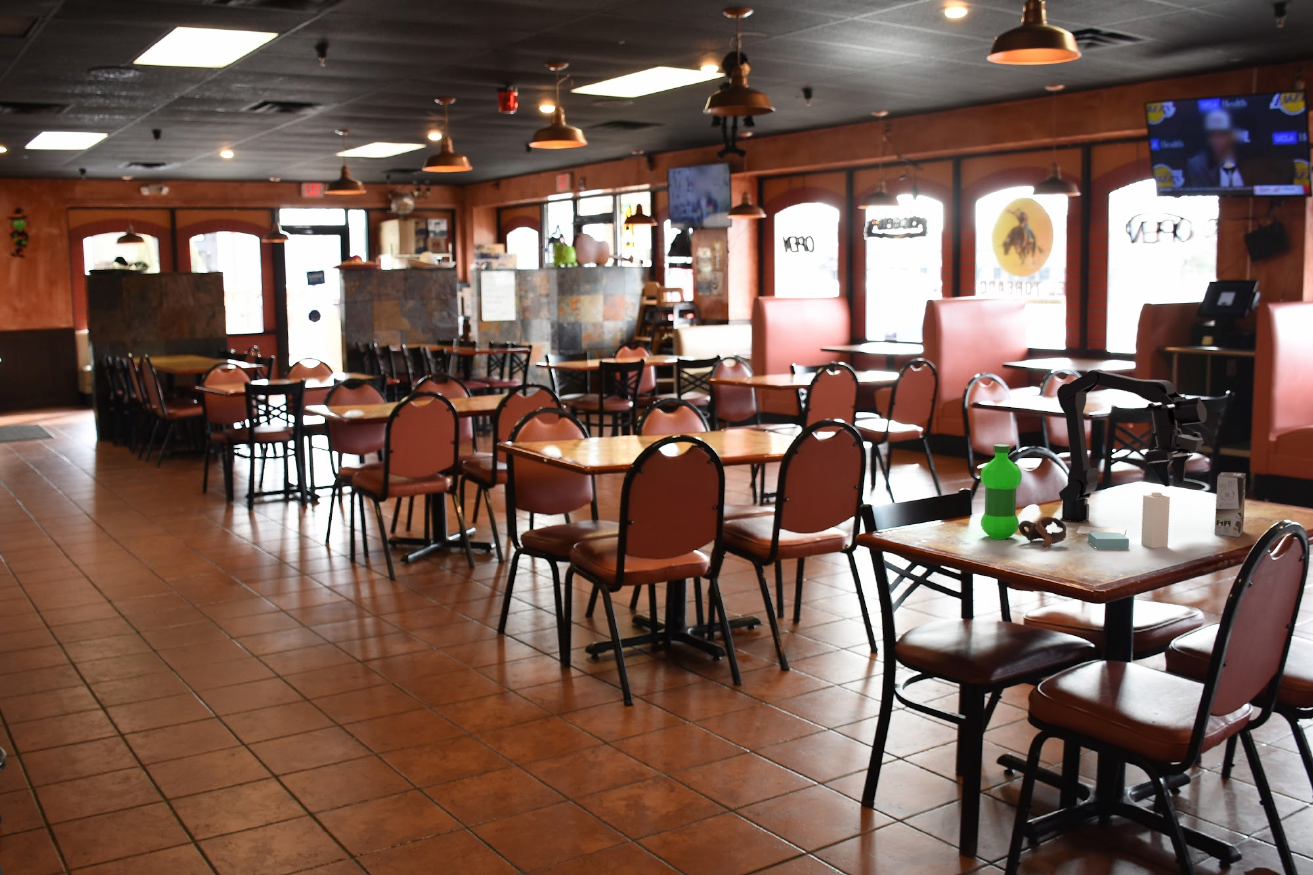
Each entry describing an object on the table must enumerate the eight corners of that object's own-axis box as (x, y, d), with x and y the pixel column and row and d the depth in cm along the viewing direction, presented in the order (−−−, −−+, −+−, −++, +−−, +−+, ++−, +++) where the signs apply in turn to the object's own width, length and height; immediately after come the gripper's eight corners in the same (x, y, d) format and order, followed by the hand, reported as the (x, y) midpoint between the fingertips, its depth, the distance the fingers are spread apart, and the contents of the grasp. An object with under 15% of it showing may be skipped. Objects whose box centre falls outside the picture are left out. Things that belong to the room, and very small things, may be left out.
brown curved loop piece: (1059, 541, 316) (1069, 518, 311) (1059, 564, 308) (1069, 540, 303) (1014, 529, 317) (1023, 505, 313) (1012, 551, 310) (1022, 527, 305)
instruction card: (1076, 533, 323) (1076, 532, 323) (1079, 527, 331) (1080, 525, 331) (1123, 537, 318) (1123, 535, 318) (1126, 530, 326) (1126, 529, 326)
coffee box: (1240, 537, 316) (1243, 477, 314) (1213, 534, 319) (1216, 475, 317) (1244, 531, 323) (1247, 472, 321) (1218, 528, 327) (1221, 471, 325)
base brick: (1088, 543, 312) (1088, 532, 312) (1119, 543, 311) (1119, 532, 311) (1096, 550, 304) (1096, 538, 304) (1128, 550, 304) (1129, 538, 303)
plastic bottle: (1019, 542, 313) (1021, 448, 310) (978, 539, 316) (980, 447, 313) (1020, 534, 322) (1022, 443, 319) (980, 532, 326) (982, 442, 323)
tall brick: (1141, 544, 309) (1143, 492, 307) (1156, 543, 310) (1158, 491, 308) (1152, 548, 304) (1154, 495, 302) (1167, 546, 305) (1169, 494, 304)
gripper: (1181, 426, 307) (1190, 486, 307) (1209, 420, 320) (1218, 477, 320) (1139, 431, 315) (1148, 489, 315) (1168, 425, 328) (1177, 480, 328)
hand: (1174, 484), depth 319 cm, fingers open, 9 cm apart
